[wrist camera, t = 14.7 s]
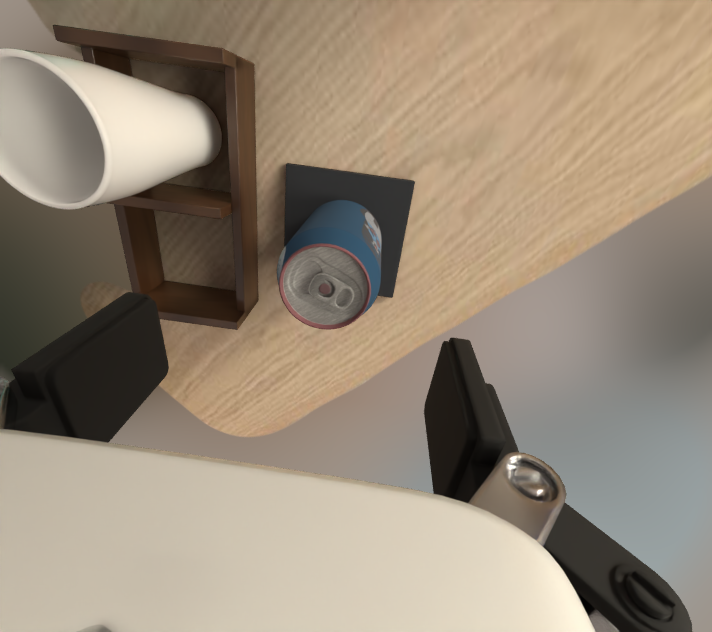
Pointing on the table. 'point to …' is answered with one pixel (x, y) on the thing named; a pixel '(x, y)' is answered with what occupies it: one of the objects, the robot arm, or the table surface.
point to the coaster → (370, 191)
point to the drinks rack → (138, 208)
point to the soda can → (332, 266)
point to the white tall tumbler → (94, 131)
